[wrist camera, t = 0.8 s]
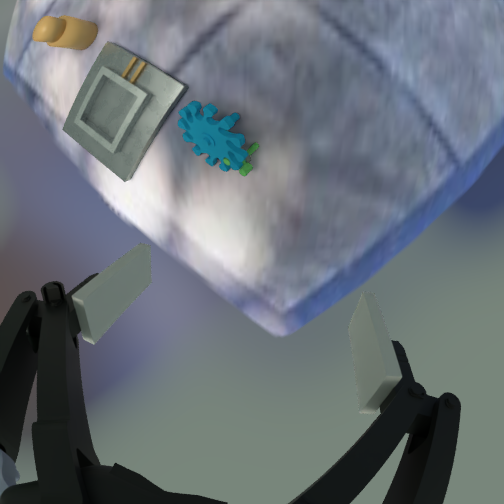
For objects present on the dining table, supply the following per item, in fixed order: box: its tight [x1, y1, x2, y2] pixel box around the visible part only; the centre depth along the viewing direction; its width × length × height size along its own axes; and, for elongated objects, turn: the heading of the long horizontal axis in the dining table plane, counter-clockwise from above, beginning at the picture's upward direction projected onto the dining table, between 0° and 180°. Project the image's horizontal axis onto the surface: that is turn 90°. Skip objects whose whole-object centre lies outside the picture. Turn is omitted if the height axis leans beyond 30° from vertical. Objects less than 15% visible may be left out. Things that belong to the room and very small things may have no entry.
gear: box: [178, 101, 259, 176], centre depth 30 cm, size 11×6×10 cm
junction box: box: [62, 41, 188, 182], centre depth 30 cm, size 16×16×3 cm
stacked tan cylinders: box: [33, 15, 98, 50], centre depth 21 cm, size 5×5×10 cm
